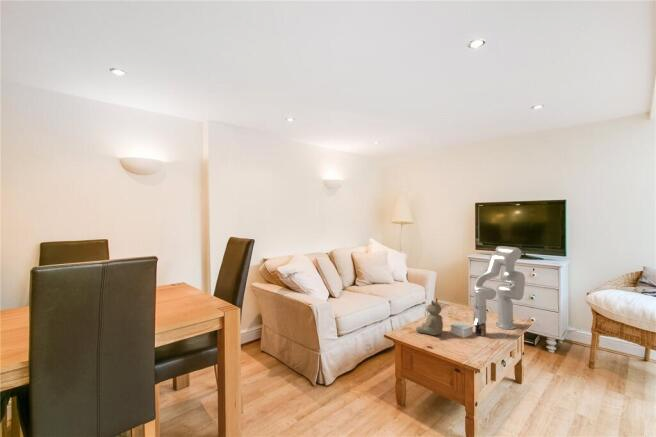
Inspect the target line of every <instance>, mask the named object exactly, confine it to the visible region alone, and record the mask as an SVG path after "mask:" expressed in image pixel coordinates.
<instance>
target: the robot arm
mask: <svg viewBox="0 0 656 437" xmlns="http://www.w3.org/2000/svg"><path fill="white" fill-rule="evenodd" d="M521 256H522V250H521V249H520V248H519V247H514V246H506V245H505V246H504V245H499V246H496V248H495V252H493V253H491V254H490V255H489V259H488V262H487V266H486V270H485V272H484V273H482V274H481V275H479V277H478V278H477V279H476V280H475V283H474V288H473V309H474V310H473V317H472V318H473V319H472V321H473V322H472V323H473V325H474V328H475V327H476V333H477V334H476V335H478V334H481V329H480V327H481V324H483V323H484V324H487V318H488V317H487V300H494V299H495V298H496V296H497V306H498V307H497V311H498V312H497V316H498V317H497V319H498V320H497V322H495V326H496V327H498V328H500V329H505V330H515V329H516V325H515V324H514V321H515V319H514V304H513V303H514V302H513V300H516V301H520V300H522V299H523V298H524V296H525V284H526V277H525V275H524V273H523V272H522V271H517V270H515V263H516V262H517V261H518V260H519V259H520V258H521ZM498 277H500V281H502V282H504V283H500V284H498V285H497V286H496V290H495V289H494V288H492V287H487V286H483V285H484V283H485V282H486V281H488V280H490V279H495V278H498ZM506 283H508V284H506ZM511 284H513V285H511ZM478 323H479V324H478ZM477 324H478V325H479V326H478V325H477Z"/></svg>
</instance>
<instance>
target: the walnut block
mask: <svg viewBox="0 0 656 437" xmlns="http://www.w3.org/2000/svg"><path fill="white" fill-rule="evenodd" d="M478 324H479V323H478ZM478 324H477V325H478ZM478 326H479V325H478ZM474 329H475V330H474V333H475V334H476V335H479V336H482V337H483V336H485V335H487V323H485V324H484V323H483V324H481V327H480V329H481V334H477V333H476V327H475V326H474Z"/></svg>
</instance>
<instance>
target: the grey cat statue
mask: <svg viewBox="0 0 656 437" xmlns="http://www.w3.org/2000/svg"><path fill="white" fill-rule="evenodd" d="M424 308H425V310H426V312H428V313H429V314H428V315H427V317H426V319H425V320H426V321H425V322H424V323H423V322H422V324H421V326H417V327H416V328H415V331H416V332H417V333H419V334H424V335H425V334H427V335H431V336H438V335H440V334H441V333H442V331H443V328H444V324H443V323H444V322H443V316H442V315H441V314H440V313H441V312H442V307H441V304H440V303H439V302H438V298H437V297H436V298H435V301H434V300H431V303H430V304H428V305H427V306H424Z"/></svg>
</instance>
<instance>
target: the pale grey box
mask: <svg viewBox="0 0 656 437" xmlns="http://www.w3.org/2000/svg"><path fill="white" fill-rule="evenodd" d="M449 326H450V334H452V335H455V336H458V337H460V338H463V339H464V338H468V337H470V336H473V328H474V326H472V325H470V324H466V323H464V322H461V321H458V322H455V323H453V324H450V325H449Z"/></svg>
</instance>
